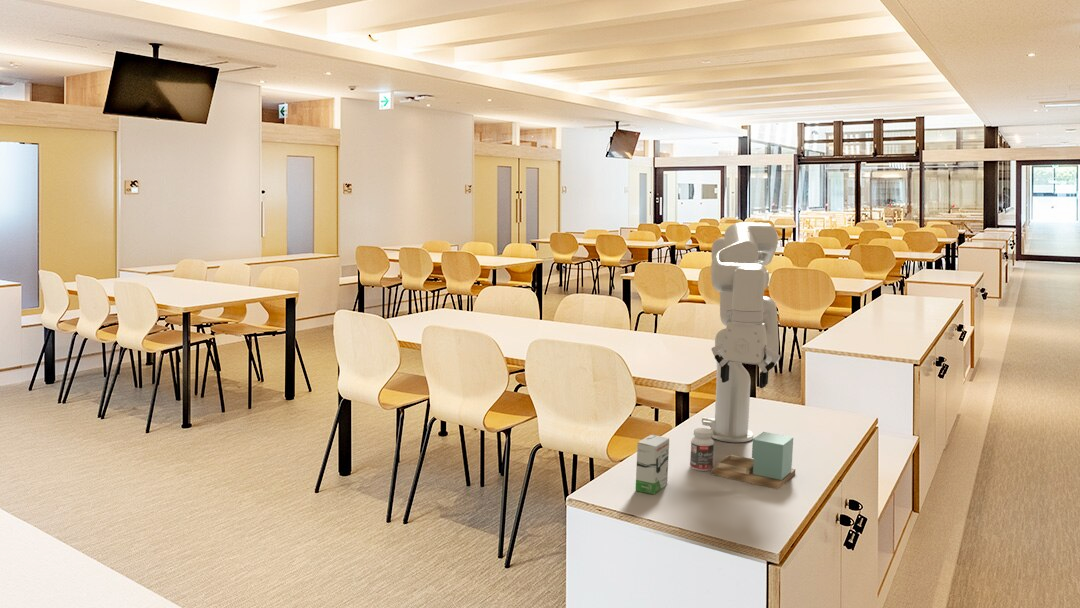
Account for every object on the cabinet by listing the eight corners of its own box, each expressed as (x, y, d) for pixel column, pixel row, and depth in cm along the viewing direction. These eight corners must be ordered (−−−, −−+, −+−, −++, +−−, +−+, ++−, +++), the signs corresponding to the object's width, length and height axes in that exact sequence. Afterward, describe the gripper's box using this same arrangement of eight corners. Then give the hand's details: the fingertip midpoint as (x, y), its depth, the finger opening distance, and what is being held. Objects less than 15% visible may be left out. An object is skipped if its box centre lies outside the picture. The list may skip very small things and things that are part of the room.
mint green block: (750, 473, 205) (752, 439, 204) (761, 465, 212) (763, 431, 210) (781, 480, 201) (783, 445, 200) (791, 471, 207) (793, 437, 206)
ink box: (653, 495, 194) (655, 446, 192) (634, 490, 197) (636, 442, 195) (668, 484, 201) (670, 436, 200) (649, 480, 204) (651, 433, 202)
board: (711, 474, 209) (712, 456, 208) (730, 460, 219) (731, 443, 218) (778, 489, 199) (779, 470, 198) (795, 473, 210) (796, 455, 209)
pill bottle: (699, 473, 209) (701, 435, 208) (685, 466, 214) (686, 428, 213) (717, 469, 212) (719, 432, 211) (703, 462, 217) (704, 426, 216)
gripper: (708, 315, 207) (705, 382, 210) (776, 322, 198) (772, 392, 200) (719, 311, 214) (716, 376, 216) (786, 318, 204) (782, 386, 207)
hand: (743, 384), depth 208 cm, fingers open, 9 cm apart
